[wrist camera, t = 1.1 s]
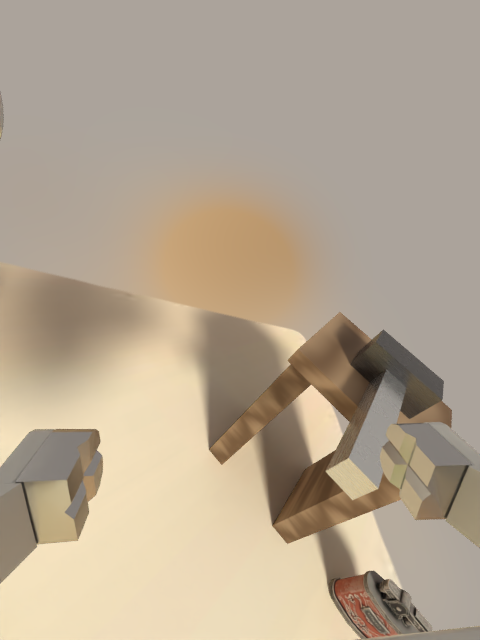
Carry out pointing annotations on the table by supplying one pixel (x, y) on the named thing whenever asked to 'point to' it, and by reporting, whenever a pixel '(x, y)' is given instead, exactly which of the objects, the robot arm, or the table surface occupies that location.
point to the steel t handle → (380, 411)
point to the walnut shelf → (345, 395)
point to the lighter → (376, 606)
